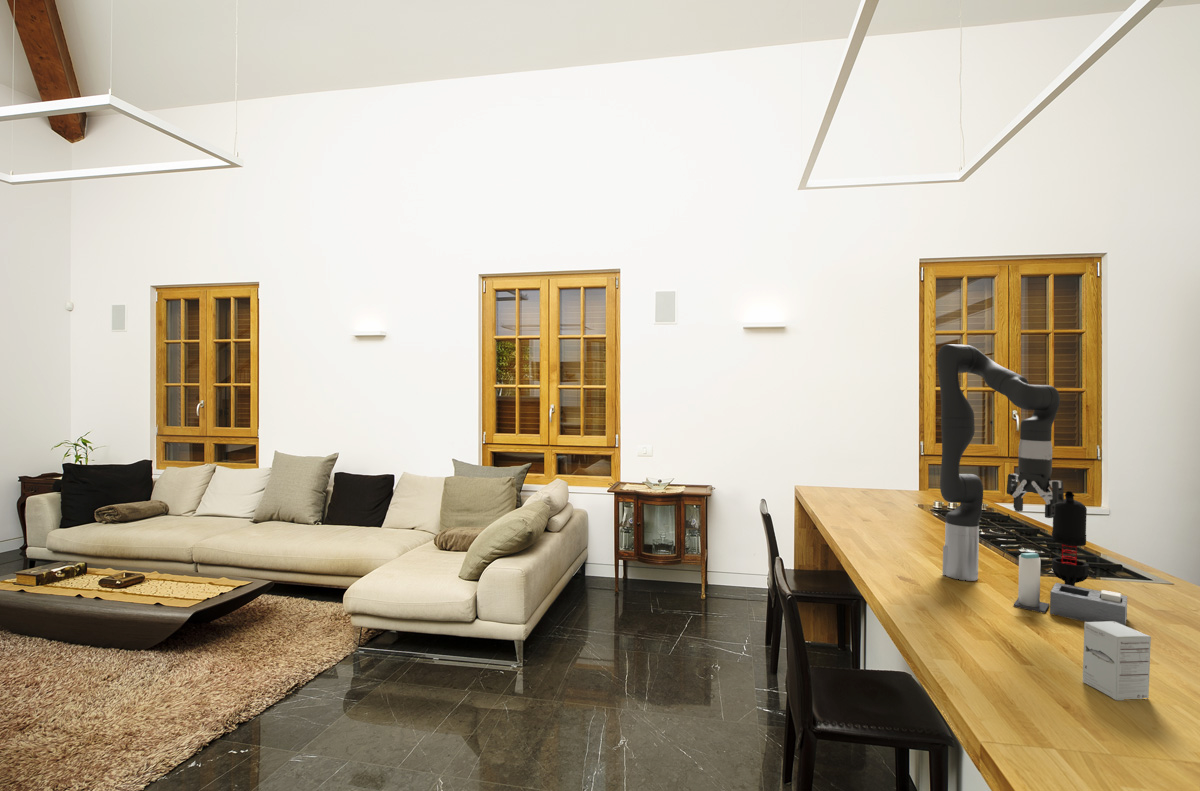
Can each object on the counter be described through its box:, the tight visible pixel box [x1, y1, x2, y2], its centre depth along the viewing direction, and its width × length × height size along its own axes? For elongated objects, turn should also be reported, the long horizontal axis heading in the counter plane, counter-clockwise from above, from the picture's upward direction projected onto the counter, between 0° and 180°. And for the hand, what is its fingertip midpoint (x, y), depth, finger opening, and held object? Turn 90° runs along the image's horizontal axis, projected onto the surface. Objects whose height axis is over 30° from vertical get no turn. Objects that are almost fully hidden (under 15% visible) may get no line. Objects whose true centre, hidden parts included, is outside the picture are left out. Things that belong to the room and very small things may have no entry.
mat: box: [1013, 598, 1050, 614], centre depth 162 cm, size 7×8×1 cm
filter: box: [1051, 490, 1090, 586], centre depth 181 cm, size 14×9×30 cm
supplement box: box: [1082, 621, 1152, 701], centre depth 116 cm, size 7×7×13 cm
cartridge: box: [1017, 552, 1041, 607], centre depth 162 cm, size 5×5×14 cm
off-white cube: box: [1100, 589, 1122, 602], centre depth 152 cm, size 4×4×5 cm
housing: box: [1049, 582, 1128, 626], centre depth 155 cm, size 15×11×6 cm
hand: (1033, 514), depth 162 cm, fingers open, 8 cm apart
